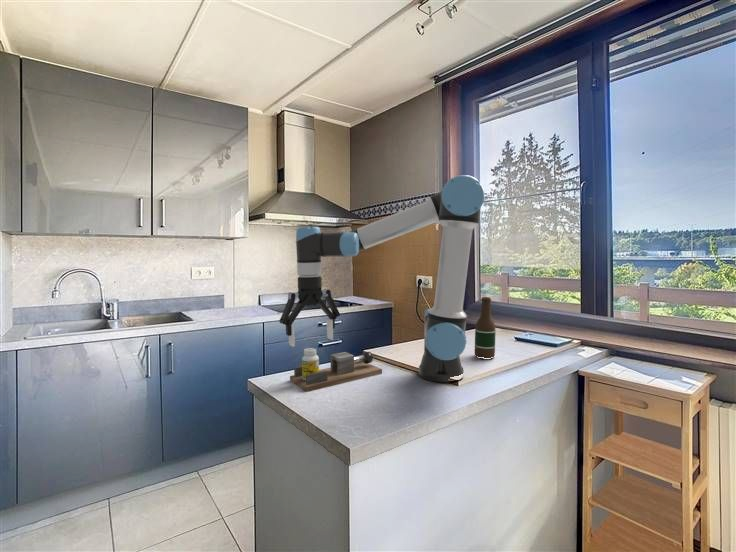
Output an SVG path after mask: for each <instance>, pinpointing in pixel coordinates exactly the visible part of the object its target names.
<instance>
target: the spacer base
mask: <svg viewBox="0 0 736 552" xmlns="http://www.w3.org/2000/svg"><path fill="white" fill-rule="evenodd" d="M354 357H355V355H353V354H352V353H349V352H347V351H344V352H343V351H341V352H338V353H333V354H332V353H331V354H330V367H327V368H321V369H319V372H316V373H312V374H307V375H306V381H305V380H303V378H302V365H300V366H296V367H293V370H294V371H293V372H294V374H293V375H289V381H290V382H292V383H293V384H294V385H296V386H297V387H299V388H301V390H303V391H305V392H307V393H308V392H312V391H315V390H319V389H324V388H328V387H332V386H336V385H341V384H346V383H348V382H352V381H353V382H354V381H356V380H361V379H364V378H369V377H373V376H377V375H382V374H383V369H382V368H379V366H378V367H377V366H376V365H373V364H371V363H367V364H365V363H364V362H361V363H356V364H354ZM336 361H337V366H336Z"/></svg>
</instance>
